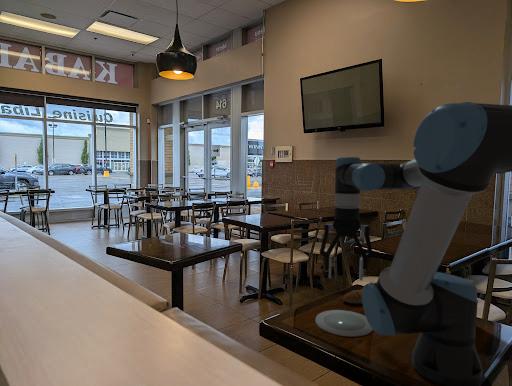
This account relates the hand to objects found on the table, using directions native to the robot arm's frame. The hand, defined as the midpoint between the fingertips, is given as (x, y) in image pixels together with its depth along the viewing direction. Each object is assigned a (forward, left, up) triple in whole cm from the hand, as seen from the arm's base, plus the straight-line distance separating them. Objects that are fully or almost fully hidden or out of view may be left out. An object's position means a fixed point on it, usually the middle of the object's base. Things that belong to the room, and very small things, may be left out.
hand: (345, 278), depth 111 cm
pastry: (+21, -2, -16) cm, 26 cm away
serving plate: (0, 0, -15) cm, 15 cm away
